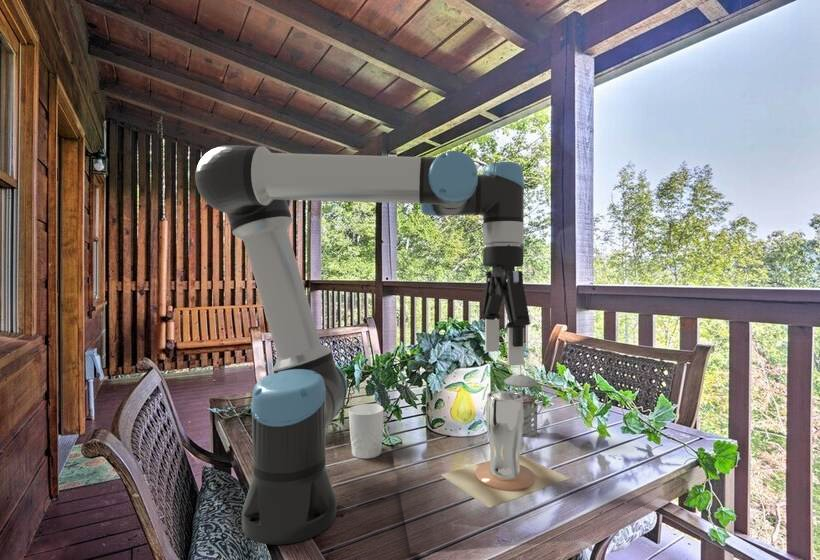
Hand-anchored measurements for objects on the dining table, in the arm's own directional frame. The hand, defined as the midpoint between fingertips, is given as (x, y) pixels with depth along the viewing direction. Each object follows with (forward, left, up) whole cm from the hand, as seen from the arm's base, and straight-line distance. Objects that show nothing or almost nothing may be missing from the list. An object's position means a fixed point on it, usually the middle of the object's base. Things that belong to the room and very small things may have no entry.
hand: (502, 357), depth 83 cm
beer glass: (0, 0, -22) cm, 22 cm away
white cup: (-26, +18, -25) cm, 40 cm away
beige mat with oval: (0, 0, -24) cm, 24 cm away
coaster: (0, 0, -23) cm, 23 cm away
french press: (+13, +23, -25) cm, 36 cm away
